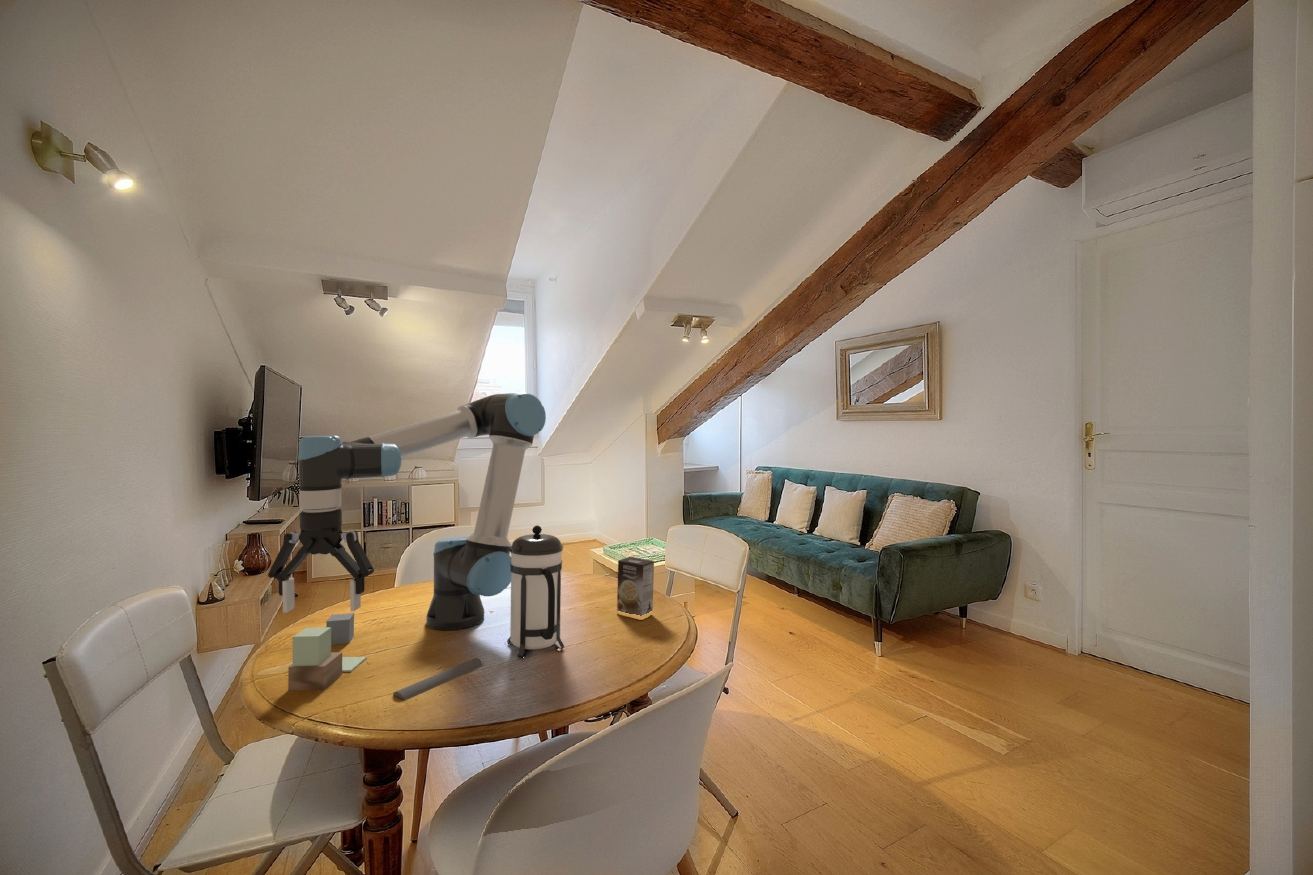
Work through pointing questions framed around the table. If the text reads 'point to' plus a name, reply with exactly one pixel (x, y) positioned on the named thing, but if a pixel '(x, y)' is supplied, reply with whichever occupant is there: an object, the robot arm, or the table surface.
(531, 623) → the coffee press
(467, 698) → the table surface
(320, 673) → the walnut base
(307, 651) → the sage block
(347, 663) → the tile
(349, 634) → the gray block
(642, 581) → the coffee box
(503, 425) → the robot arm
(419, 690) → the slim gray ramp strip
